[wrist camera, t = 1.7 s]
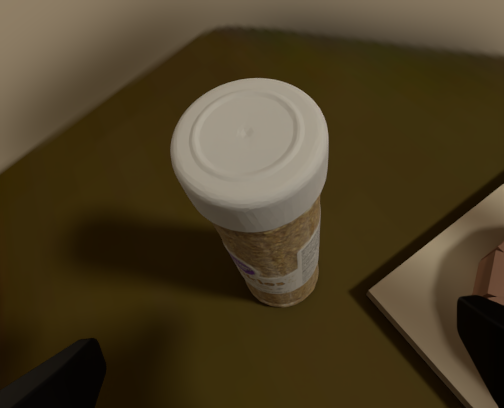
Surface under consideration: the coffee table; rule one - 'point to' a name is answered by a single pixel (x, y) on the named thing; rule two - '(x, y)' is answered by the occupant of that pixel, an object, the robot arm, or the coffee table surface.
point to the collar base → (448, 294)
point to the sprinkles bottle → (258, 180)
